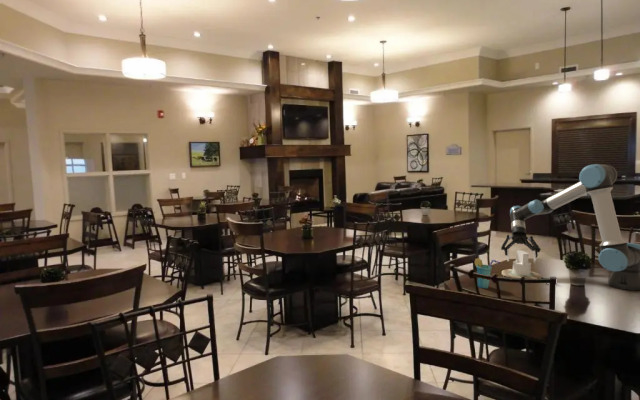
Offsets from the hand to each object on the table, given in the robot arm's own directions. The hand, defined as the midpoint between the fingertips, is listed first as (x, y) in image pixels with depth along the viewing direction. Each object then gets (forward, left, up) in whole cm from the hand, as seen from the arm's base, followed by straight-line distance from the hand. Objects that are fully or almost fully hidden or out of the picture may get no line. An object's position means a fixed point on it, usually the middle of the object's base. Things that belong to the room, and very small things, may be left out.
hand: (521, 261), depth 242 cm
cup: (+28, +21, -9) cm, 36 cm away
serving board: (0, 0, -9) cm, 9 cm away
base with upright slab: (0, 0, -7) cm, 7 cm away
